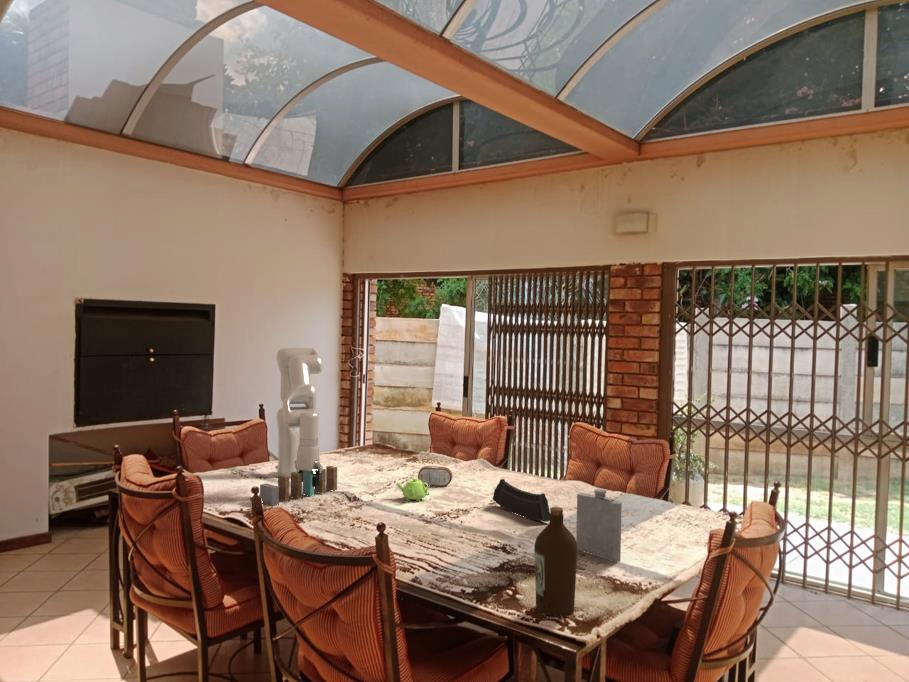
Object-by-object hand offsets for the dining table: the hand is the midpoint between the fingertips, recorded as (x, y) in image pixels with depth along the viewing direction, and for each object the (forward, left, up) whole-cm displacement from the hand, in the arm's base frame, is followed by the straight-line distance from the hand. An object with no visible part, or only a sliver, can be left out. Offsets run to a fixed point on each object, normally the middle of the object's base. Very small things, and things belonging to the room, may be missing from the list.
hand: (308, 484), depth 285 cm
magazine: (+80, +37, -5) cm, 88 cm away
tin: (+25, +49, -5) cm, 55 cm away
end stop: (0, -19, -5) cm, 19 cm away
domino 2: (0, -6, -5) cm, 8 cm away
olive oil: (+137, -29, -5) cm, 140 cm away
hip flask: (+124, +16, -5) cm, 125 cm away
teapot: (+35, +25, -5) cm, 43 cm away
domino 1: (0, -12, -5) cm, 13 cm away
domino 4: (0, +6, -5) cm, 7 cm away
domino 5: (0, +12, -5) cm, 13 cm away
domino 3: (0, 0, -5) cm, 5 cm away
